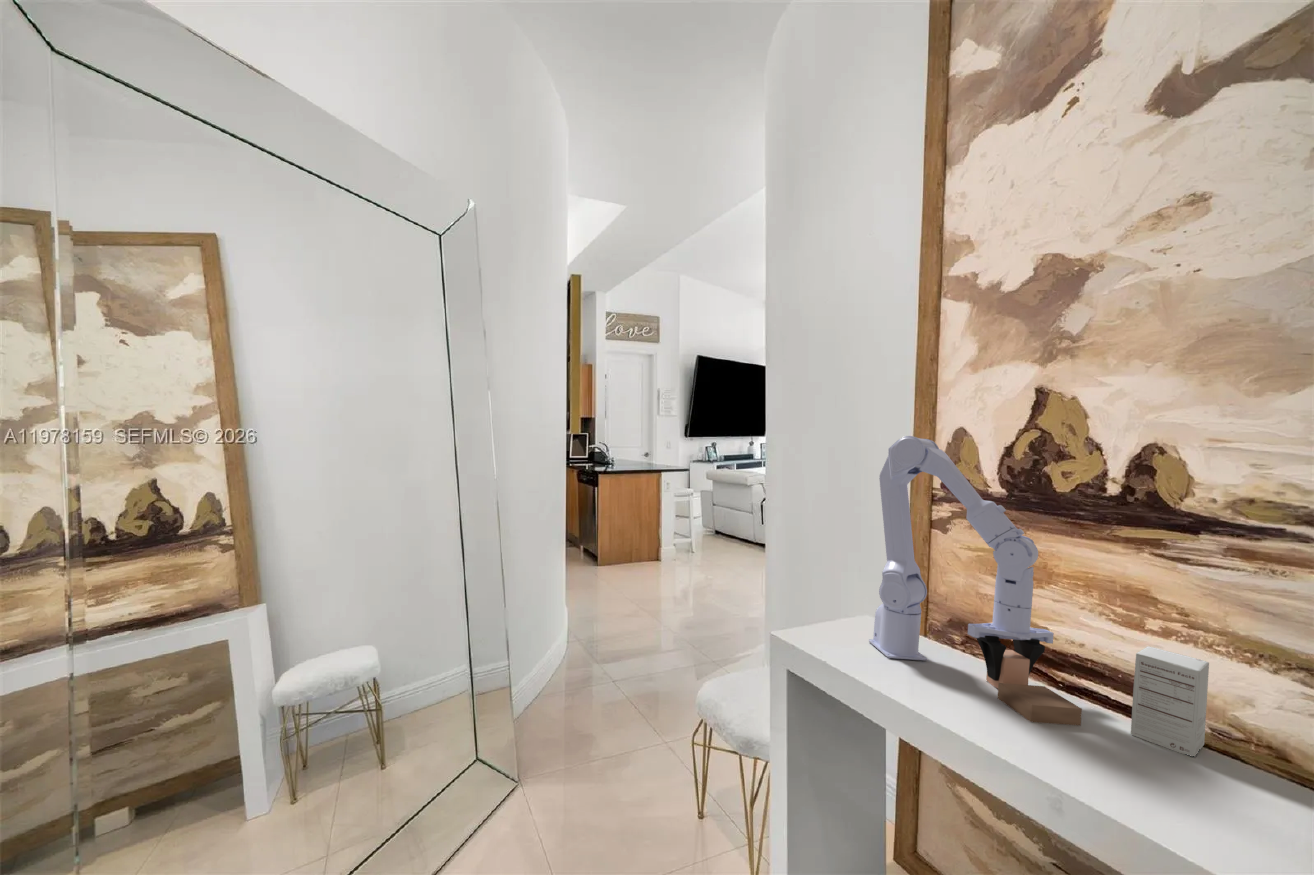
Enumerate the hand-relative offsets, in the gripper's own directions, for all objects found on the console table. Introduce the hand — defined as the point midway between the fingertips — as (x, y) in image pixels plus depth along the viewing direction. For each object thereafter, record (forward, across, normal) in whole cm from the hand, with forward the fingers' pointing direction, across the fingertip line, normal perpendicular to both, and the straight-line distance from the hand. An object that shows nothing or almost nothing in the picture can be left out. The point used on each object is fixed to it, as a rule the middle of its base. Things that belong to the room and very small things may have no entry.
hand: (1006, 679), depth 99 cm
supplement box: (+2, +14, -16) cm, 21 cm away
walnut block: (+2, -1, -9) cm, 9 cm away
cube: (+1, 0, 0) cm, 1 cm away
